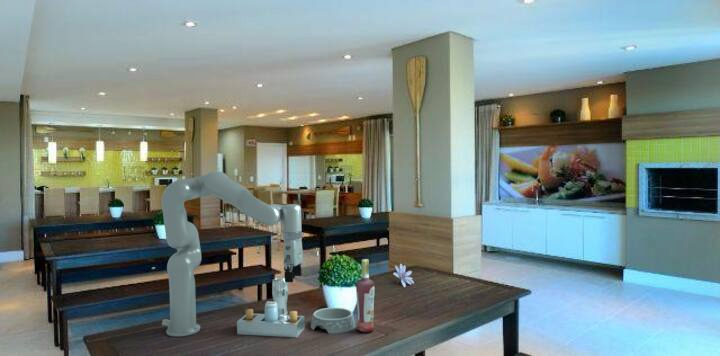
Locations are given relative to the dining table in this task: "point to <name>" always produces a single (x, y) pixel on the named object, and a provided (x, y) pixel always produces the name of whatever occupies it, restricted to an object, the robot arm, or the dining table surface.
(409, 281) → the water lily
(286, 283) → the beer glass
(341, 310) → the dog bowl
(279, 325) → the housing
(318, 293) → the dining table surface
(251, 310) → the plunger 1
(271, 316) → the cylinder
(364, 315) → the liquor
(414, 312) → the dining table surface
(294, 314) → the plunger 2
